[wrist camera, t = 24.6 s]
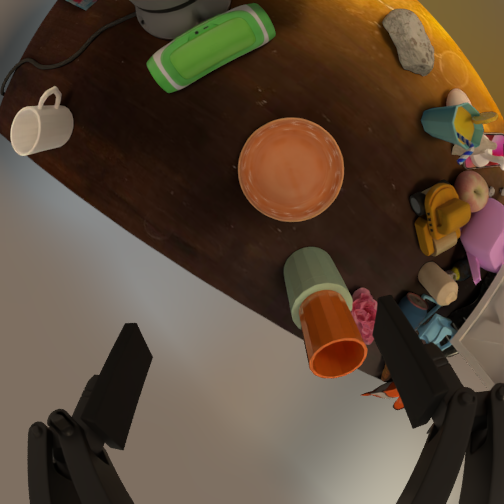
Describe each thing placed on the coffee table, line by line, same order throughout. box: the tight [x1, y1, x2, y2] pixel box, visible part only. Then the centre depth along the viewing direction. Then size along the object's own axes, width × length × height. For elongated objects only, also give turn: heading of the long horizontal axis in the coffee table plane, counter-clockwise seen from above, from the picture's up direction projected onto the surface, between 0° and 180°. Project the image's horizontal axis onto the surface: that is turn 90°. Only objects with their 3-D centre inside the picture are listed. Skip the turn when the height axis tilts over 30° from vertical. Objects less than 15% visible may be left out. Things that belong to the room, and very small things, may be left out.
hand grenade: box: [445, 259, 472, 281], centre depth 48 cm, size 4×4×10 cm
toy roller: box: [410, 180, 471, 256], centre depth 40 cm, size 9×14×10 cm, turn 27°
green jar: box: [284, 247, 353, 329], centre depth 44 cm, size 9×9×12 cm
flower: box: [351, 288, 377, 345], centre depth 50 cm, size 11×10×10 cm
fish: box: [362, 381, 404, 410], centre depth 63 cm, size 20×12×15 cm
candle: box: [418, 262, 458, 306], centre depth 46 cm, size 6×6×10 cm
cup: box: [421, 102, 498, 165], centre depth 31 cm, size 14×8×15 cm, turn 140°
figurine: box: [470, 134, 504, 170], centre depth 32 cm, size 7×7×12 cm
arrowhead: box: [452, 135, 497, 156], centre depth 35 cm, size 8×2×10 cm
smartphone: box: [462, 133, 504, 169], centre depth 38 cm, size 7×1×15 cm
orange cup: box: [299, 290, 368, 378], centre depth 35 cm, size 7×7×10 cm
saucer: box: [238, 118, 344, 222], centre depth 40 cm, size 16×16×3 cm
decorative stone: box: [382, 9, 434, 76], centre depth 29 cm, size 12×11×5 cm
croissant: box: [381, 364, 391, 382], centre depth 59 cm, size 14×7×5 cm
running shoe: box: [436, 272, 498, 357], centre depth 51 cm, size 11×29×12 cm
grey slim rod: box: [488, 186, 504, 197], centre depth 41 cm, size 2×12×2 cm, turn 98°
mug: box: [11, 86, 73, 156], centre depth 32 cm, size 8×12×10 cm, turn 141°
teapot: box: [460, 198, 504, 285], centre depth 40 cm, size 20×12×13 cm, turn 143°
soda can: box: [398, 293, 428, 332], centre depth 52 cm, size 7×7×12 cm
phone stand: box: [417, 294, 458, 351], centre depth 49 cm, size 8×8×12 cm
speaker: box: [147, 3, 276, 93], centre depth 30 cm, size 18×7×8 cm
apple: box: [454, 171, 489, 212], centre depth 39 cm, size 8×8×8 cm
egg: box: [446, 88, 471, 106], centre depth 33 cm, size 6×6×8 cm
